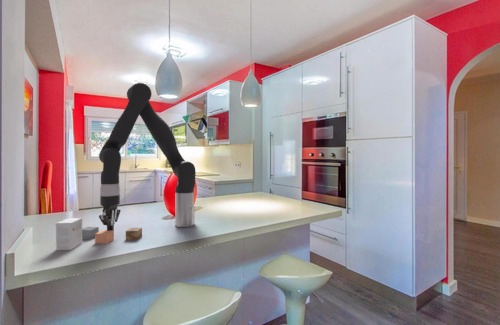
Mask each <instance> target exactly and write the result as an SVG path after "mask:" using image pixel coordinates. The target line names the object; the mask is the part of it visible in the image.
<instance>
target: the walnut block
mask: <svg viewBox="0 0 500 325" xmlns="http://www.w3.org/2000/svg"><path fill="white" fill-rule="evenodd" d="M142 237H143V227H129V228H128V229H126V230H125V241H138V240H139V239H140V238H142Z"/></svg>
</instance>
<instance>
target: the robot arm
mask: <svg viewBox="0 0 500 325" xmlns="http://www.w3.org/2000/svg"><path fill="white" fill-rule="evenodd" d="M126 97H127V100H128V102H127V104H126V106H125V109H124V110H123V112H122V114H120V116H119V118H118V119H117V121H116V123H115V124H114V127H113V128H112V130H111V132H110V135H109V137H108V139H107V140H106V141H105V143H104V145H103V146H102V148H101V149H100V151H99V153H98V158H99V160H100V162H101V163H102V164H103V166H102V171H101V172H100V188H99V192H100V194H99V198H100V199H99V200H100V202H99V204H100V206H101V207H103V208H102V214H100V215H99V216H98V218H99V220H100V222H101V224H102V225H103V226H106V230H114V231H115V224H116V223H117V222H118V220H119V217H120V214H121V209H118V208H119V207H118V206H119V205H120V204H121V189H120V188H121V187H120V170H121V164H122V156H121V153H120V151H121V149H122V147H123V146H125V145H126V143H127V141H128V140H129V137H130V136H131V133H132V131H133V128H134V127H135V124H136V123H137V120H138V118H139V116H140V118H141V119H142V121H143V123H144V125H145V127H146V128H147V130H148V132H149V133H150V135H151V137H152V138H153V140H154V141H155V144H156V145H157V146H158V147H159V149H160V151H161V153H162V154H163V155H164V156H165V158H166V160H167V162H168V164H169V166H170V168H171V171H172V172H173V174H174V176H176V177H177V185H176V186H175V189H174V190H175V191H174V192H175V194H174V195H175V200H174V201H175V202H174V203H175V204H174V205H175V206H174V208H175V209H174V210H175V213H174V214H175V216H174V218H175V219H174V220H175V221H174V222H175V226H176V227H177V228H189V227H193V226H194V225H195V221H196V220H195V218H196V215H195V210H196V208H195V207H196V206H195V205H194V197H195V196H194V189H195V186H196V173H197V172H196V167H195V165H194V163H192V162H190V161H186V160H185V159H184V157H183V156H182V155H181V153H180V151H179V148H178V145H177V141H176V137H175V135H174V133H173V131H172V130H171V128H170V127H169V125H168V124H167V122H166V121H165V120H164V119H163V118H162V117H161V116H160V115H159V114H158V113H157V112H156V111H155V110H154V108H153V106H152V105H151V103H150V100H151V99H152V90H151V87H150V86H149V85H147V83H144V82H137V83H134V84H133V85H131V86H130V87H129V88H128V89H127V91H126Z"/></svg>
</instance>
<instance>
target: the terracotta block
mask: <svg viewBox="0 0 500 325" xmlns="http://www.w3.org/2000/svg"><path fill="white" fill-rule="evenodd" d="M114 240H115V229H114V230H107V229H105V230H104V229H102V230H99V232H98V233H95V238H94V244H104V245H105V244H106V245H107V244H109V243H110V242H112V241H114Z"/></svg>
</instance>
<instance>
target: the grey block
mask: <svg viewBox="0 0 500 325" xmlns="http://www.w3.org/2000/svg"><path fill="white" fill-rule="evenodd" d="M98 232H100V230H99V226H86V227H84V228H82V240H92V239H95V233H98Z"/></svg>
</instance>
